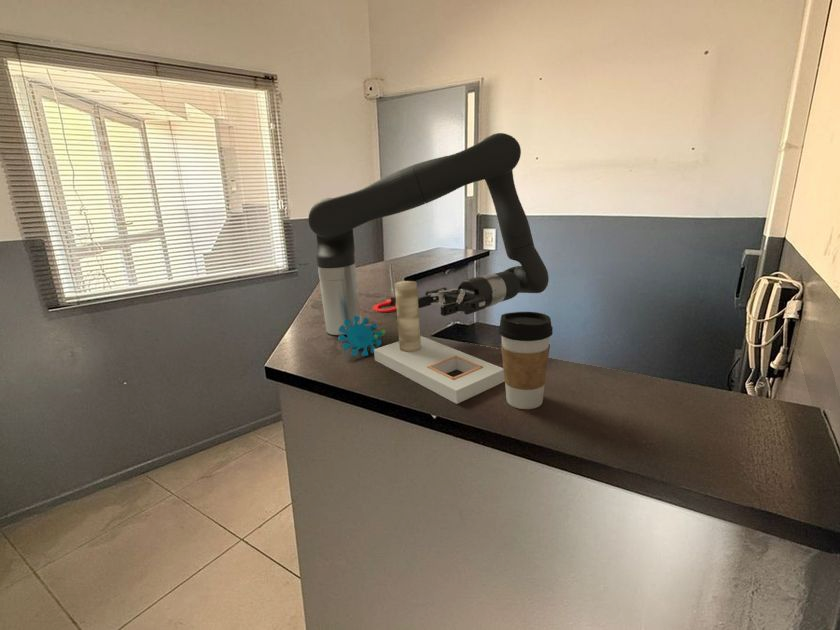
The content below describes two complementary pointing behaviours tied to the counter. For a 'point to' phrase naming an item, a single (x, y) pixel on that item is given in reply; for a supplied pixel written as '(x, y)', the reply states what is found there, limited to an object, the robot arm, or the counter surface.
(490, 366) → the white peg hole board
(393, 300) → the tow hook
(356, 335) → the gear
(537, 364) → the coffee cup
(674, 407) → the counter surface
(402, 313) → the peg
